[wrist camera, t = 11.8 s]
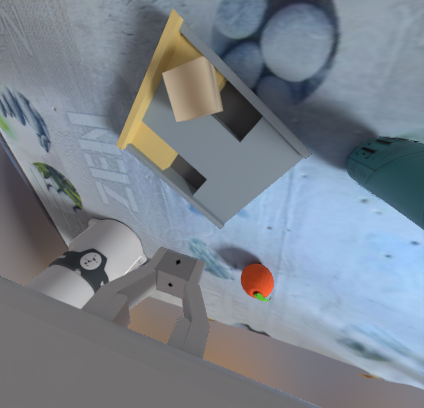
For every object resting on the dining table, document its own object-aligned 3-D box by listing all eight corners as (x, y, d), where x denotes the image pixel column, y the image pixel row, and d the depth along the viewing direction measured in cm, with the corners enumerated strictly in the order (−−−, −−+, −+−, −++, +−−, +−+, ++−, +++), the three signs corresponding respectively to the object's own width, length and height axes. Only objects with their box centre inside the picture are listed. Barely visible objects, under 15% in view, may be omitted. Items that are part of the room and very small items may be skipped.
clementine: (282, 273, 38) (286, 304, 32) (258, 284, 42) (258, 313, 36) (258, 252, 37) (257, 279, 31) (236, 264, 41) (231, 291, 35)
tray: (305, 148, 26) (314, 155, 21) (224, 217, 35) (218, 232, 31) (189, 28, 22) (172, 8, 18) (135, 141, 32) (116, 145, 28)
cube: (190, 120, 25) (176, 121, 21) (180, 80, 23) (161, 73, 19) (223, 111, 23) (214, 110, 19) (215, 67, 21) (203, 56, 17)
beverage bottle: (363, 187, 26) (554, 328, 9) (328, 163, 26) (458, 264, 9) (409, 150, 23) (856, 267, 6) (370, 123, 22) (715, 158, 5)
